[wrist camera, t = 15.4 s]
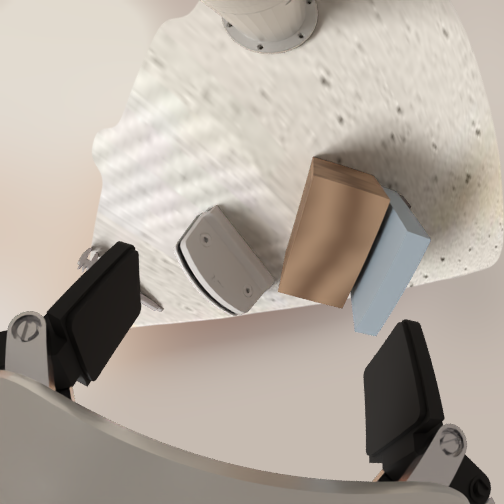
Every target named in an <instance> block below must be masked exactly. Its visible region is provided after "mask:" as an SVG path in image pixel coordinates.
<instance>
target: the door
mask: <svg viewBox="0 0 504 504" xmlns="http://www.w3.org/2000/svg"><path fill="white" fill-rule="evenodd" d="M381 187H382V186H381ZM382 188H383V190H384V191H385V193H386V194H387V196H388V197H389V199H390V203H389V205H388V208H387V210H386V213H385V215H384V218H383V220H382V223H381V225H380V228H379V230H378V232H377V235H376V237H375V239H374V242H373V244H372V246H371V249H370V251H369V253H368V255H367V258H366V260H365V262H364V264H363V266H362V269H361V271H360V273H359V275H358V277H357V279H356V281H355V283H354V286H353V288H352V290H351V301H352V309H353V318H354V329H355V332H359V333H363V334H368V335H373V336H377V334H378V332H379V331H380V330H381V328H382V326H383V325H384V323H385V322H386V320H387V319H388V317H389V315H390V314H391V312H392V310H393V309H394V307H395V306H396V304H397V302H398V300H399V299H400V297H401V296H402V294H403V292H404V290H405V289H406V287H407V285H408V283H409V281H410V280H411V278H412V276H413V274H414V272H415V270H416V269H417V267H418V265H419V263H420V261H421V259H422V257H423V255H424V253H425V251H426V249H427V247H428V245H429V243H430V241H431V239H430V237H429V236H428V234H427V233H426V231H425V230H424V228H423V227H422V226H421V224H420V223H419V221H418V220H417V219H416V217H415V216H414V214H413V213H412V212H411V210H410V209H409V208H408V206H407V205H406V204H405V202H404V201H403V200H402V198H401V197H400V196H399V194H398V193H397V192H396V191H393V190H390V189H388V188H385V187H382Z"/></svg>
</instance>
